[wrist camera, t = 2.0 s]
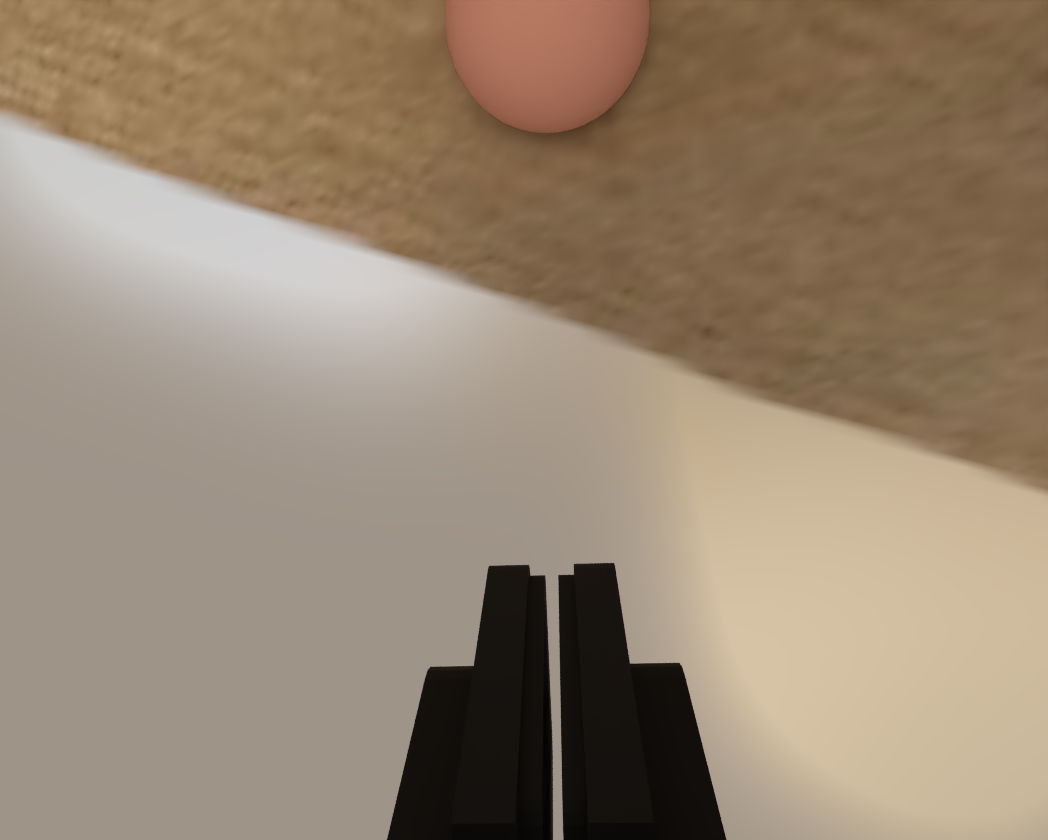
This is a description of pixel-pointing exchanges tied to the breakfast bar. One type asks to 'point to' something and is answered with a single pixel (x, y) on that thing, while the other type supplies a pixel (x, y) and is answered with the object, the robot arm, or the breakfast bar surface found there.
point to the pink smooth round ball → (547, 57)
